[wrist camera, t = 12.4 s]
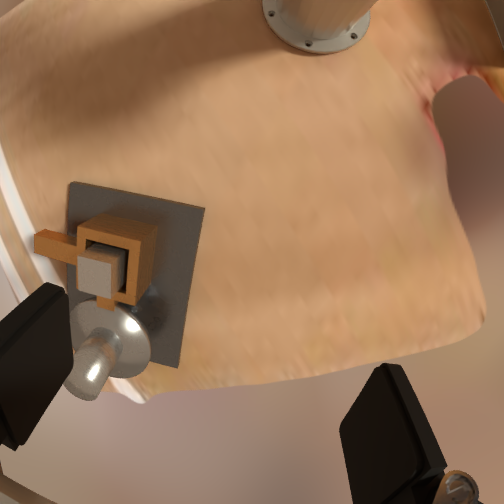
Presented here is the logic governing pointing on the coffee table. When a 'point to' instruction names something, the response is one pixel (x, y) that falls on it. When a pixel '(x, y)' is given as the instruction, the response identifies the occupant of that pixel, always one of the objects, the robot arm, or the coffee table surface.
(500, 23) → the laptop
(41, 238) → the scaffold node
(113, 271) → the grey block
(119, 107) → the coffee table surface
